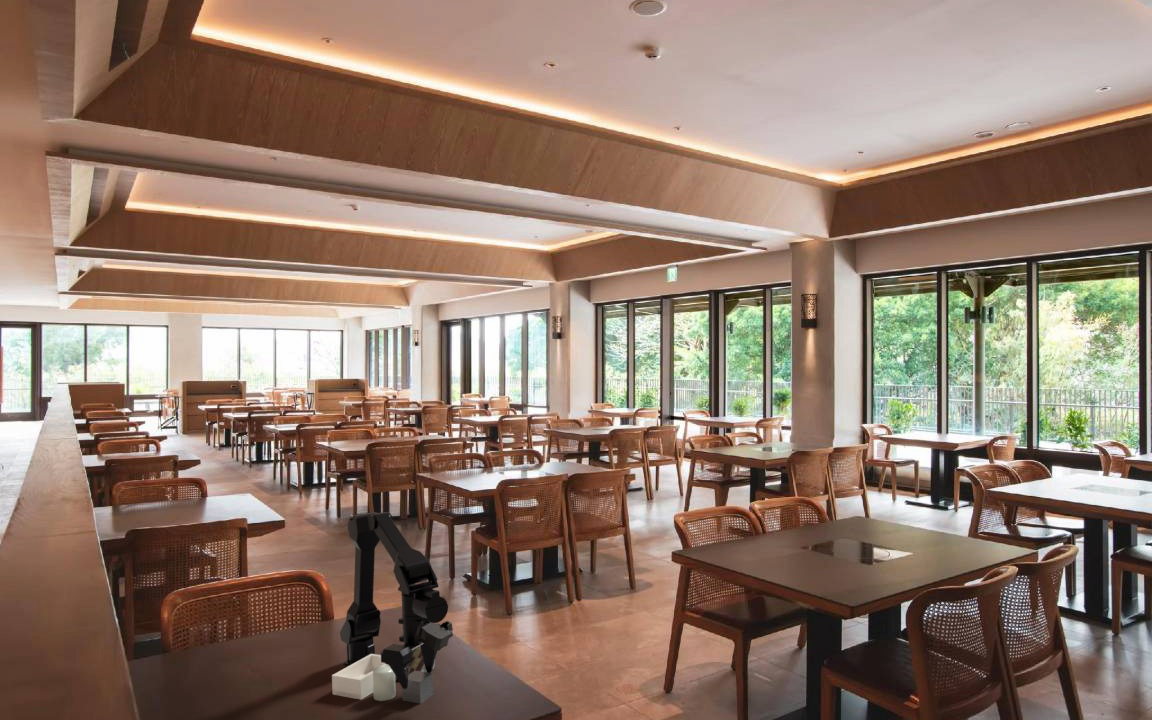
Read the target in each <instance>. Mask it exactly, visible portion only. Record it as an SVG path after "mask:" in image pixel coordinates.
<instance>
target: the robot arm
mask: <svg viewBox="0 0 1152 720" xmlns="http://www.w3.org/2000/svg"><path fill="white" fill-rule="evenodd" d="M347 531H348V537H349V539H350V541H351V543H352V544H353V546H354V547H355V549H354V550H355V553H354V555H355V556H354V581H353V582H354V583H353V584H354V585H353V586H354V589H353V601H352V603H351V604H350V606H349V608H348V609H347V611H346V617H345V621H344V623H343V626H342V627H341V628H340V629H341V630H340V631H339V635H340V636H339V637H340V640H341V641H342V643H345V644H346V656H347V657H346V658H347V659H346V660H345V661H343V662H342V664H343V665H344V666H347V667H348V666H350V665H352V664H353V663H355V662H357V661H359V660H361V659H363V658H364V657H366V656H368V655H370V654H376V651H375V648H376V647H375V643H374V638H376V637H379V635H380V629H381V624H382V623H381V621H382V620H381V611H380V609H378V607H377V606H376V604H375V603H374V589H375V587H374V583H375V558H376V557H375V555H376V547H377V546H378V544H379V542H380V543H381V544H382V545H383V547H384V548H385V550H386V552H387V553H388V555H389V556H390V558H391V559H392V561H393V563H394V565H393V569H392V570H393V574H394V577H395V580H396V582H397V583H398V584H399V586H398V587H397V590H398V591H399V592H401V613H402V614H401V615H402V617H400V618H399V619H398V624H399V625H402V635H400V636H399V638H398V639H399V642H401V643H403V644H395V643H392V644H391V645H389V646H387V647H385V648H383V649H382V651H381V652H380V655H381V662H383V663H385V664H388V665H389V666H390V668H391V669H392V670H393V672H394V674H395V675H396V677H397V679H398V680H397V681H398V682H399V684H400V686H401V689H402V688H403V689H407V687H408V669H409V665H410V664H411V663H412V662H413V660H411V658H412V656H413V655H412V650H414V649H415V648H417V647H421V651H422V656H423V660H424V664H425V668H426V671H427V673H433V672H432V671H433V669H434V667H433V665H434V661H435V662H436V658H437V654H438V652H439V651H440V650H442V649H443V648H445V647H447V646H448V644H449V640H450V639H451V638H452V637H454V633H453V630H454V629H453V623H452V621H449V620H448V619H447V620H445V621H443V622H442V623H440V622H441V621H442V620H444V619H445V617H446V616H447V615H448V611H449V604H448V602H447V599H446V598H444V597H442V596H440V590H437V589H436V588H439V583H438V577H437V575H436V573H435V571H434V569H433V567H432V564H431V562H430V561H429V559H428V558H427V557H426V556H425V555H424V553H423V552H421V551H419V550H417V549H414V548H412V547H411V545H410V544H409V543H408V540H407V539H406V538H405V536H404V535H403V534H402V532H401V531H400V529H399V527H397V525H396V523H395V521H394V520H393V515H392V514H391V512H387V511H385V512H376V511H373V512H368V513H362V514H356V515H355V514H354V515H353V516H351V518H349V521H348V523H347ZM434 666H435V665H434ZM432 668H433V669H432Z"/></svg>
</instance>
